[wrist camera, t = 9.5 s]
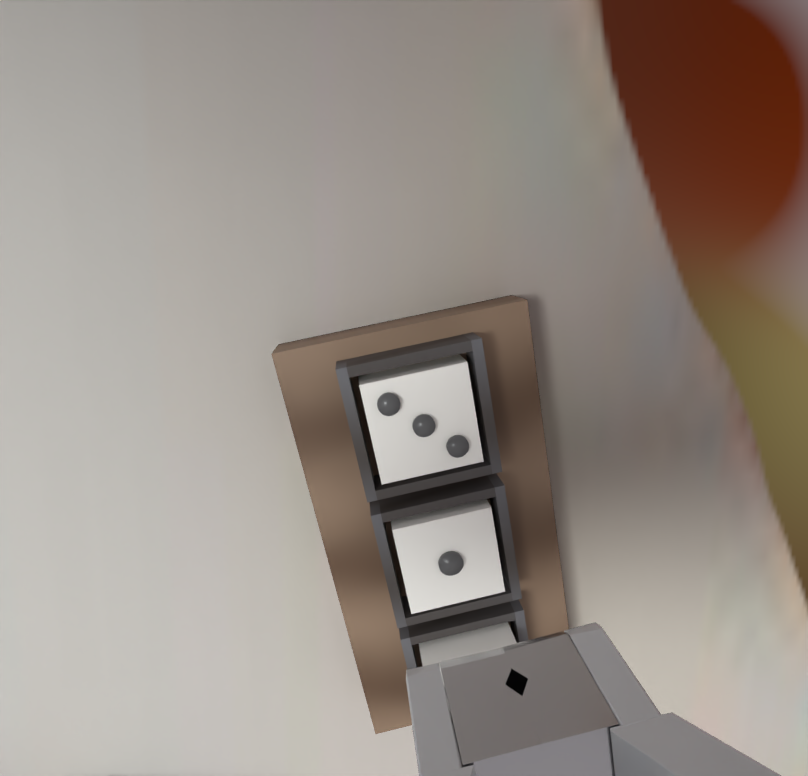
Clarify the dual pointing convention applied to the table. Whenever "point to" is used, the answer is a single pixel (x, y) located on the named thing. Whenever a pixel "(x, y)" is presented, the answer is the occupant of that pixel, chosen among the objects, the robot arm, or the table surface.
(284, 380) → the key panel
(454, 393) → the key three
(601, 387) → the table surface
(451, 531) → the key one
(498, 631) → the key two
